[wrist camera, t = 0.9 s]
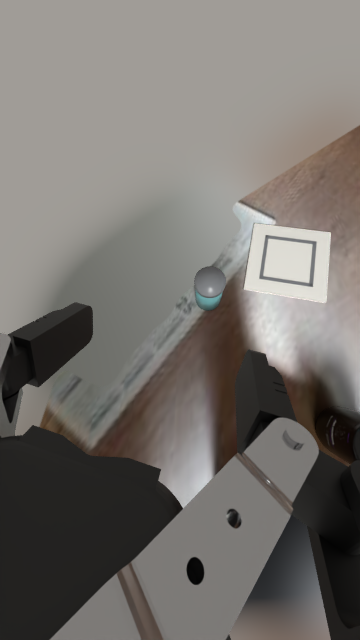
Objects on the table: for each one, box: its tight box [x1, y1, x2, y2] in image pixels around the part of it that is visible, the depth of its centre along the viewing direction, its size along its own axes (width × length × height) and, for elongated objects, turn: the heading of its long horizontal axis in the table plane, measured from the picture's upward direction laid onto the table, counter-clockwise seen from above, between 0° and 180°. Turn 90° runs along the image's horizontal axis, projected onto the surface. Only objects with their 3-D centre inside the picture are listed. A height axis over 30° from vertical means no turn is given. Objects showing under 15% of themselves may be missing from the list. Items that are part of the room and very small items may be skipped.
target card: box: [243, 223, 331, 303], centre depth 39 cm, size 14×14×1 cm
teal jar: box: [194, 267, 226, 311], centre depth 35 cm, size 5×5×8 cm
